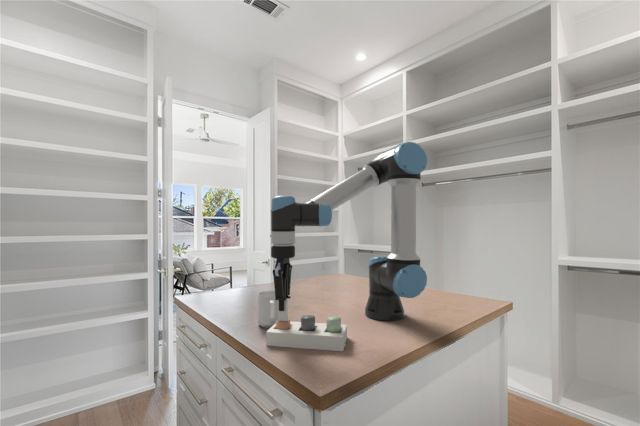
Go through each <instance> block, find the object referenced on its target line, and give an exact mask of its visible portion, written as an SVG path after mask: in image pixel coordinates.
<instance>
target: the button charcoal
mask: <svg viewBox="0 0 640 426" xmlns="http://www.w3.org/2000/svg"><path fill="white" fill-rule="evenodd" d="M300 322H301V331H313V332H314V331H315V323H316V316H315V315H312V314H304V315H301V316H300Z"/></svg>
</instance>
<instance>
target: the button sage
mask: <svg viewBox="0 0 640 426" xmlns="http://www.w3.org/2000/svg"><path fill="white" fill-rule="evenodd" d="M325 319H326V320H325V321H326V322H325V323H326V332H329V333H341V324H342V318H341V317H340V316H337V315H336V316H335V315H333V316H327V317H326V318H325Z"/></svg>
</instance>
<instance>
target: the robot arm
mask: <svg viewBox="0 0 640 426" xmlns="http://www.w3.org/2000/svg"><path fill="white" fill-rule="evenodd" d="M427 164H428V157H427V153H426V151H425V149H424V148H423V147H422V146H421V145H420V144H418V143H416V142H412V141H406V142H403V143H399V144H397V145H396V146H394V147H392V148H389V149H387V150H385V151H383V152H382V153H380V154H379V155H378V156H376V157H375V158H374V159H373V160H371V161H370V162H367V163H366V164H365V165H362V166H363V167H362V169H361V170H360V171H358V172H356V173H354V174H352V175H351V176H349V177H347V178H346V179H344V180H343V181H340V182H338V183H337V184H335V185H334V186H332V187H330V188H328V189H327V190H325V191H324V192H322V193H320V194H318V195H316V196H315V197H313V198H312V199H310V200H308V201H306V202H303V203H302V202H296V197H294V196H290V195H277V196H274V197H272V199H271V208H270V209H271V210H270V219H271V220H270V222H271V223H270V230H271V234H269V237H270V238H271V239H270V240H271V247H270V257H271V258H273V259H276V260H275V265H274V269H272V275H273V284H274V291H275V300H278V321H287V320H289V318H288V312H289V311H288V308H289V304H288V303H289V299H291V297H292V296H290V294H291V280H292V270H293V264H291V261H290V259H293V258H295V257H296V247H295V243H296V227H319V228H320V227H328V226H329V225H330V224H331V222H332V219H333V211H334V210H335V209H337V208H339V207H340V206H342V205H344V204H345V203H347V202H349V201H350V200H352V199H354V198H355V197H357V196H358V195H361V193H364V192H365V191H366V190H368V189H370V188H372V187H374V188H376V187H378V186H380V185H382V184H384V183H386V182H387V183H388V184H389V186H390V187H391V194H390V195H391V196H390V199H391V200H390V202H391V203H390V210H391V214H390V223H391V225H390V253H389V254H388V255H387V256H377V257H376V256H375V257H371V258H369V261H368V275H369V276H368V282H369V284H368V286H369V287H368V288H369V291H368V293H369V294H368V299H367V301H366V305H365V308H364V315H365V316H366V317H367V318H369V319H373V320H376V321H377V320H378V321H388V322H389V321H390V322H391V321H397V320H398V321H399V320H402V319H404V317H405V309H404V306H403V303H402V300H401V298H405V299H413V298H416V297H418V296H420V295H421V293H423V291H425V288H426V287H427V283H428V276H427V272H426V271H425V269H424V268H423V267H422V266H421V257H420V256H419V255H418V254H417V242H416V241H417V186H418V184H419V183H421V180H422V179H421V173H422V172H424V170H425V169H426V167H427Z"/></svg>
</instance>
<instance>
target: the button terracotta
mask: <svg viewBox="0 0 640 426" xmlns="http://www.w3.org/2000/svg"><path fill="white" fill-rule="evenodd" d="M290 321H291V319H288V320H287V321H278V320H277V321H276V329H281V330H289V329H290Z"/></svg>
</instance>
